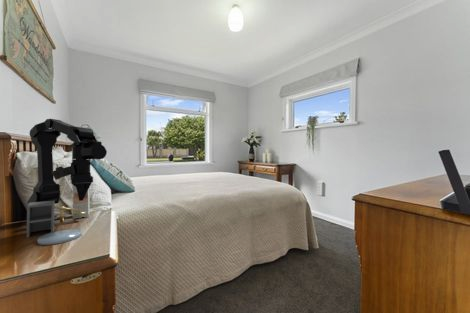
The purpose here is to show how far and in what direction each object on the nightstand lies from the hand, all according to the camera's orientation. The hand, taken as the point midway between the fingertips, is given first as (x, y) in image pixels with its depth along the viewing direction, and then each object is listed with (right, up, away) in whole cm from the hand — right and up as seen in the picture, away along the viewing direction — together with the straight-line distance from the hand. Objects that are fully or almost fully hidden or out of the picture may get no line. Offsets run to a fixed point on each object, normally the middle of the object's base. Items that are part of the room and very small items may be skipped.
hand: (80, 199), depth 79 cm
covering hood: (-8, -5, -7) cm, 12 cm away
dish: (+3, -10, -12) cm, 16 cm away
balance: (-10, -10, +4) cm, 15 cm away
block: (0, -1, 0) cm, 1 cm away
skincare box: (-10, -11, +14) cm, 20 cm away
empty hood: (-9, -10, -7) cm, 15 cm away
